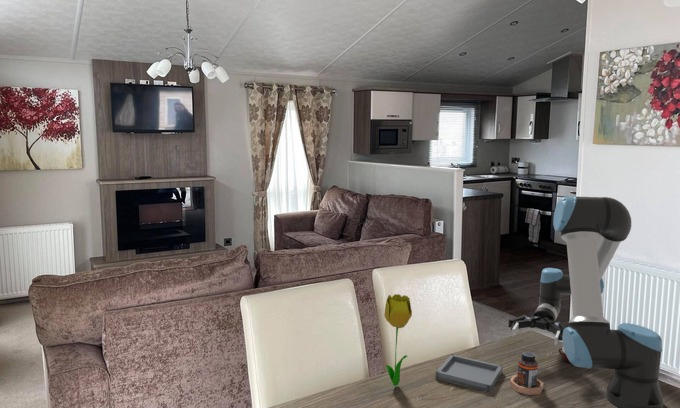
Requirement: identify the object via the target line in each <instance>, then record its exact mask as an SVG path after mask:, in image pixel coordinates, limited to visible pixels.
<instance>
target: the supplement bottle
mask: <svg viewBox="0 0 680 408" xmlns="http://www.w3.org/2000/svg"><path fill="white" fill-rule="evenodd" d="M517 361H518V362H517V363H518V364H517V382H516V384H517V385H519V386H522V387H526V388H536V387H537V385H536V383H537V379H538V370H539V369H538V368H539V367H538V366H539V365H538V364H539V363H538V361H537V360H536V354H535V353H534V352H531V351H522V352H521V357H520V358H519V359H518V360H517Z"/></svg>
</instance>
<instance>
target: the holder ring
mask: <svg viewBox="0 0 680 408" xmlns="http://www.w3.org/2000/svg"><path fill="white" fill-rule="evenodd" d="M509 387H510V388H511V389H512V390H514V391H515V392H517V393H520V394H524V395H529V396H534V395H540V394H542V393H543V390H544V382H543V381H542V380H540V379H539V378H537V383H536V388H526V387H522V386H519V385H517V375H512V376H511V378H510V379H509Z"/></svg>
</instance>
